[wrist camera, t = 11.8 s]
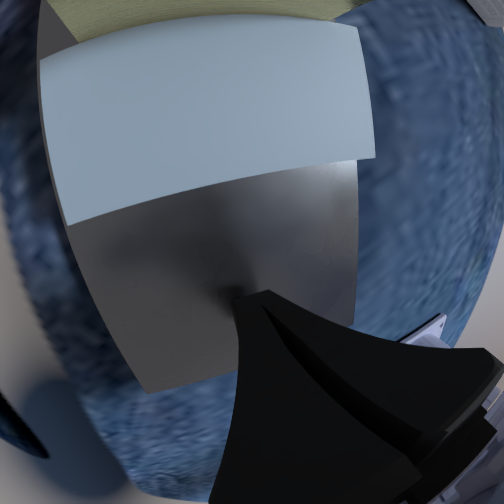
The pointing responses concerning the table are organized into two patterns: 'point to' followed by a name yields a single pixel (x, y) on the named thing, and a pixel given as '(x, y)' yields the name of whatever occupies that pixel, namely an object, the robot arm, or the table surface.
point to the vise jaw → (200, 106)
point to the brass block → (181, 12)
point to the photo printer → (489, 11)
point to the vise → (211, 256)
